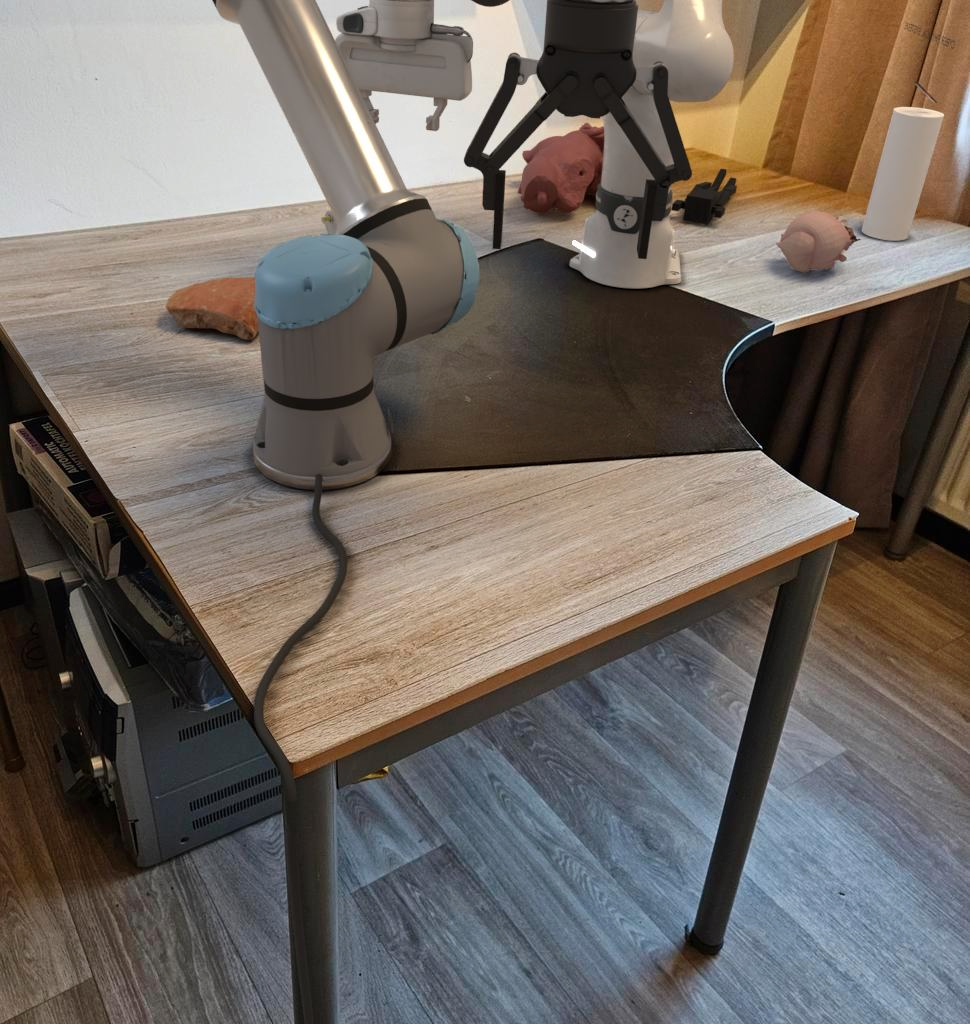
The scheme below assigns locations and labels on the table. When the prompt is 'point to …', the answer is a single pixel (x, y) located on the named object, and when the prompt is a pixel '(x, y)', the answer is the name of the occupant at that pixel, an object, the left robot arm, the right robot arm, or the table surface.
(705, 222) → the toy
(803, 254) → the toy
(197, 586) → the table surface
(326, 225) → the electric motor
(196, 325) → the ceramic shard
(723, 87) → the right robot arm
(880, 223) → the tall white tube
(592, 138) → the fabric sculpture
